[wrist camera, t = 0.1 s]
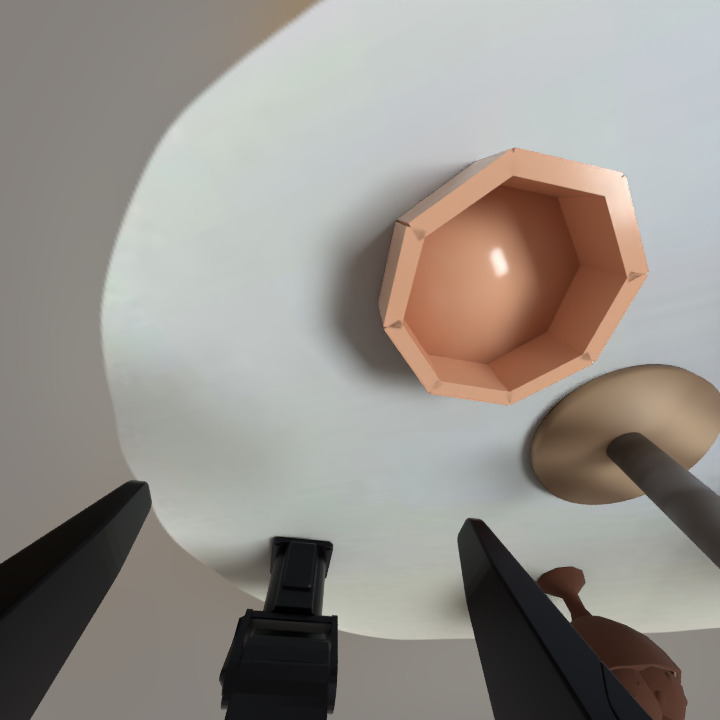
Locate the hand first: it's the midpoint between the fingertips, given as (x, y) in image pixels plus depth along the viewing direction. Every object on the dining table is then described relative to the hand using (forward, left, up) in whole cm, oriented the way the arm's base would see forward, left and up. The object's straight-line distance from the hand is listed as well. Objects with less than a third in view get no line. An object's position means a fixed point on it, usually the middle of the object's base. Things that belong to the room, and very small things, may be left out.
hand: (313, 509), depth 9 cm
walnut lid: (-6, -26, -15) cm, 30 cm away
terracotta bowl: (+5, -9, -15) cm, 18 cm away
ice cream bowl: (-28, -32, -15) cm, 45 cm away
